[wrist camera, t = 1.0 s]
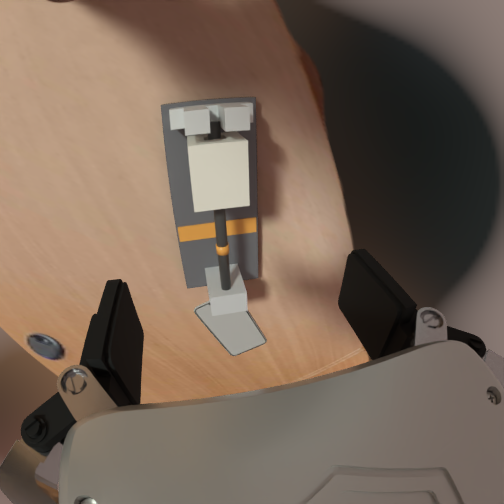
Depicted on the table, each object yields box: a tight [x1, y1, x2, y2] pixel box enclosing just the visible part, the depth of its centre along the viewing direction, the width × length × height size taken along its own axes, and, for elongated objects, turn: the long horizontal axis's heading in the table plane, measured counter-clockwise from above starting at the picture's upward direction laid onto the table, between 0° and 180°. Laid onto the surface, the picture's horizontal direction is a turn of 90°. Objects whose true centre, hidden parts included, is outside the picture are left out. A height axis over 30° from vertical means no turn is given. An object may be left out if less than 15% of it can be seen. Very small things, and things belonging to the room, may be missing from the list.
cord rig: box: [161, 97, 258, 316], centre depth 30 cm, size 24×10×10 cm, turn 1°
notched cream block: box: [187, 131, 250, 212], centre depth 26 cm, size 6×5×6 cm
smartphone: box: [194, 301, 267, 356], centre depth 47 cm, size 7×1×15 cm
